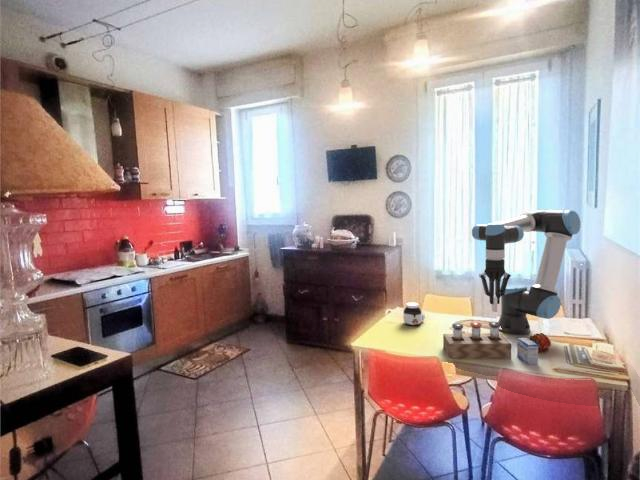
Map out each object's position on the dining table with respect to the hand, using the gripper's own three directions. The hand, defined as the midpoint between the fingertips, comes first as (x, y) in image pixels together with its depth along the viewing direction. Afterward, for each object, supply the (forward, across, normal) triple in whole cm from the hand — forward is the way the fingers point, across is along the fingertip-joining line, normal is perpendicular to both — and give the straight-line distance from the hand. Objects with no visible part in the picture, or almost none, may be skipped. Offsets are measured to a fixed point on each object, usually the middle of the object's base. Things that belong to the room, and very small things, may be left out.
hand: (494, 310), depth 170 cm
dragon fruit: (+20, -21, -4) cm, 29 cm away
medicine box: (+20, -11, +7) cm, 24 cm away
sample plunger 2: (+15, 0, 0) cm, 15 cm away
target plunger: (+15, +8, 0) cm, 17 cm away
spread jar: (+20, +29, -42) cm, 54 cm away
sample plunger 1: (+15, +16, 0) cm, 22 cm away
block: (+20, +8, 0) cm, 21 cm away
